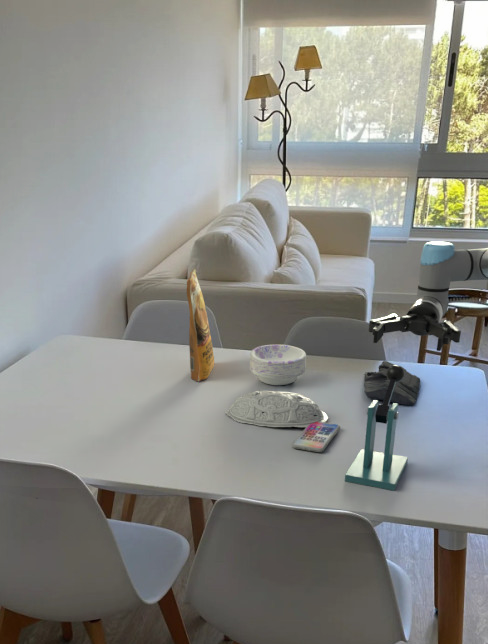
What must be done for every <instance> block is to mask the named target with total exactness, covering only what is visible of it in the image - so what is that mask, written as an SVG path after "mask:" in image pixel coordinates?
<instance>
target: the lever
mask: <svg viewBox="0 0 488 644" xmlns="http://www.w3.org/2000/svg"><path fill="white" fill-rule="evenodd" d="M400 366H401V365H398V364H395V365H393V366H391V367H390V368H389V369H388V370H387V378H388V380H389V381H390V382H389V385H388V388H387V391H386V394H385V398H384V401H383V400H382V403H378V408H377V411H376V414H375V418H376V423H379V424H386V425H387V422H388V413H389V409H390V408H391V406H390V403H391V402H390V400H391V397H392V393H393V390H394V387H395V384H396V383H397V382H400V381H401V380H402V379H403V378H404V370H403V368H404V367H403V366H401V367H400ZM402 367H403V368H402Z"/></svg>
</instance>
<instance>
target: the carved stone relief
mask: <svg viewBox="0 0 488 644" xmlns="http://www.w3.org/2000/svg"><path fill="white" fill-rule="evenodd" d="M225 415H226V416H227V417H230V418H231V419H233V420H234V421H235V422H238V423H242V424H248V425H249V424H250V425H254V426H259V427H269V428H292V427H295V428H306V427H307V426H308V425H309V424H312V423H315V422H318V421H319V422H326V423H327V422H328V420H329V416H328V415H327V413H326V412H324V411H322V410H321V409H320V407H319V406H318V404H317V403H315V402H314V401H313V400H312V399H310V398H308V397H306V396H304V395H302V394H300V393H295V392H289V391H279V390H274V391H272V390H256V391H253V392H249V393H247V394H243V395H242V396H239V397H238V398H236V400H234V402H233V404H232V405H230V406H229V410H226V411H225Z"/></svg>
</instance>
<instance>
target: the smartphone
mask: <svg viewBox="0 0 488 644" xmlns="http://www.w3.org/2000/svg"><path fill="white" fill-rule="evenodd" d="M340 429H341V425H340V424H338V423H333V422H327V421H326V422H319V421H318V422H315V423H312V424H309V425H308V426H307V427H304V429H303V430H302V431H301V433H300V434H299V435H298V436H297V437H296V438H295V440H294V441H293V442H292V444H291V447H292V448H293V449H296V450H302V451H303V450H304V451H307V452H308V451H309V452H314V453H322V452H324V451H325V450H326V448H327V447H328V445H329V444H330V442H331V441H332V440H333V439H334V437H335V436H336V435H337V433H338V432H339V431H340Z"/></svg>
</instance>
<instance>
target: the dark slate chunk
mask: <svg viewBox="0 0 488 644" xmlns="http://www.w3.org/2000/svg"><path fill="white" fill-rule="evenodd" d="M393 365H396V364H395V363H392V362H389V361H387V360H383V361H382V362H381V364H379V365H378V371H366V372H365V373H364V378H363V387H364V391H363V392H364V395H365V397H367V398H369V399H373V400H378V401H382V402H383V401H384V398H385V394H386V391H387V388H388V385H389V382H390V381H389V380H388V378H387V370H388V369H389V368H390V367H391V366H393ZM399 366H400V367H402V368H403V370H404V378H403V379H402V380H401V381H400V382H397V383H396V384H395V387H394V390H393V393H392V397H391V400H390V403H398V405H405V406H413V405H415V404H416V402H417V399H418V396H419V391H420V387H421V378H420V377H418V376H417V375H416V374H412V373H410V372H409V371H407V369H406V368H404V367H403V366H401V365H399Z"/></svg>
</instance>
